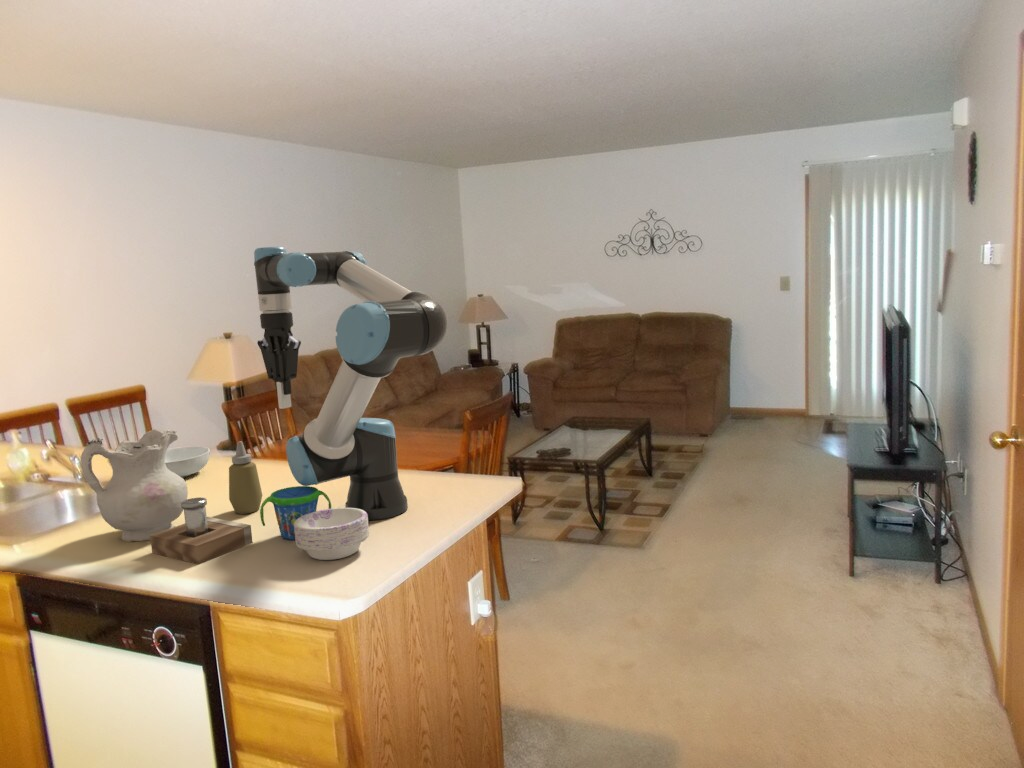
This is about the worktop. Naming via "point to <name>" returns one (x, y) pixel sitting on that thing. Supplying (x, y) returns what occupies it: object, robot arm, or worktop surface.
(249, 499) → the squeeze bottle
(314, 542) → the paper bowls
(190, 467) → the serving bowl
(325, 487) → the worktop surface
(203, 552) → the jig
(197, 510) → the metal capped cylinder
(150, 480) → the ceramic pitcher
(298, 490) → the snack cup
